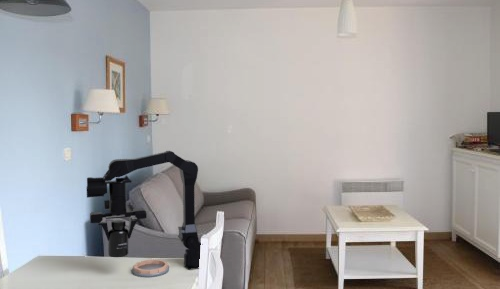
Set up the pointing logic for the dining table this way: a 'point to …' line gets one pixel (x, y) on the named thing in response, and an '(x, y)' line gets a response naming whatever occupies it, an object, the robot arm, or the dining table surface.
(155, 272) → the bottle holder
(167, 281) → the dining table surface
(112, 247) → the supplement bottle
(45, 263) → the dining table surface
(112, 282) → the dining table surface
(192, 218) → the robot arm
